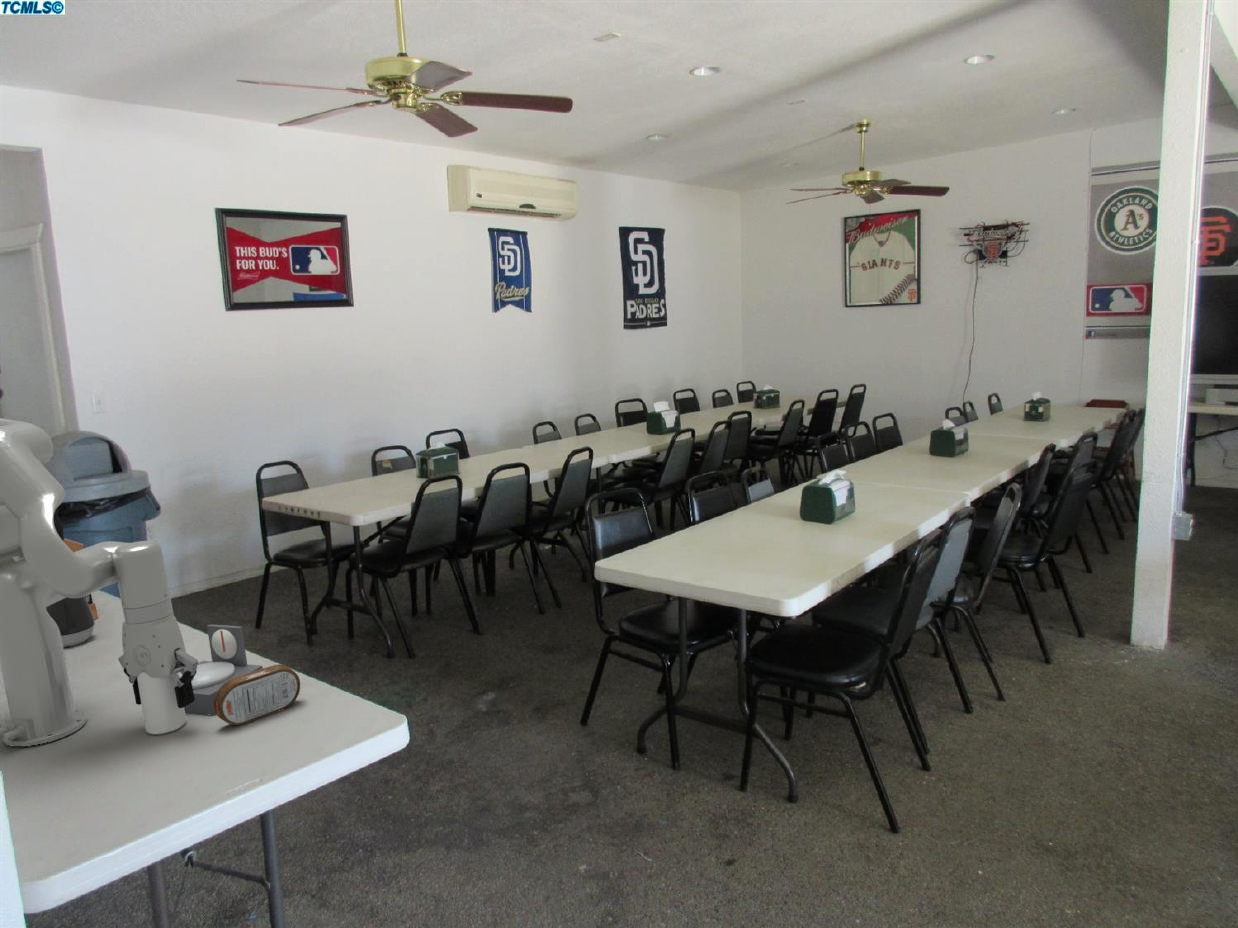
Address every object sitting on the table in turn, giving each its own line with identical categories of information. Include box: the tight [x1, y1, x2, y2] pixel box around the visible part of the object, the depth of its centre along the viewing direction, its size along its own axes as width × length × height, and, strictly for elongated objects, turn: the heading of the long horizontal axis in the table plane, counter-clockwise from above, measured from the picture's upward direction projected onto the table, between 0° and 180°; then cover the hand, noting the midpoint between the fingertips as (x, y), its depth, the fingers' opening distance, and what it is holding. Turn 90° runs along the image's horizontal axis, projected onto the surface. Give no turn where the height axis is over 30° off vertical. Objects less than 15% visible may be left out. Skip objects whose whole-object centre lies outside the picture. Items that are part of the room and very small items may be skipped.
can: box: [137, 667, 187, 736], centre depth 153 cm, size 6×6×12 cm
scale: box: [179, 624, 263, 716], centre depth 166 cm, size 14×15×12 cm
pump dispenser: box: [46, 597, 96, 648], centre depth 202 cm, size 10×10×15 cm
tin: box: [213, 663, 301, 726], centre depth 156 cm, size 15×3×8 cm, turn 135°
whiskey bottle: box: [54, 507, 99, 620], centre depth 216 cm, size 10×10×32 cm
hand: (165, 703), depth 154 cm, fingers open, 9 cm apart
